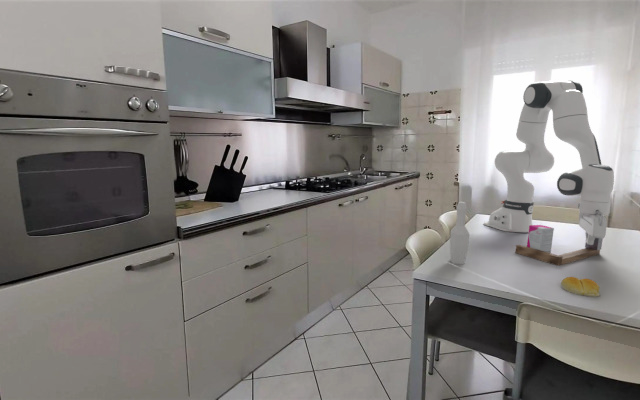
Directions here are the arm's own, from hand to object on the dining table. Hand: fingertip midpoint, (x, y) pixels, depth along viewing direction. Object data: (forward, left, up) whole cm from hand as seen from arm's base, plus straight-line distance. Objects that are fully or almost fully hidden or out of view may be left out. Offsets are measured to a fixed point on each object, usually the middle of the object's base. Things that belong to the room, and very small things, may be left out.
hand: (589, 243), depth 128 cm
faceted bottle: (-17, -51, -5) cm, 54 cm away
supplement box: (-9, -17, -5) cm, 20 cm away
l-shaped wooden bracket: (-6, -8, -4) cm, 11 cm away
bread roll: (+15, -38, -5) cm, 41 cm away
